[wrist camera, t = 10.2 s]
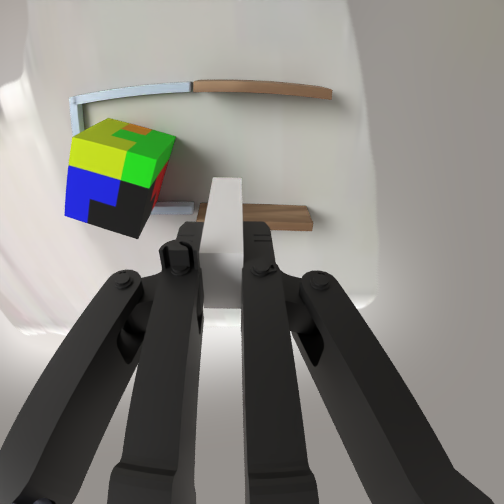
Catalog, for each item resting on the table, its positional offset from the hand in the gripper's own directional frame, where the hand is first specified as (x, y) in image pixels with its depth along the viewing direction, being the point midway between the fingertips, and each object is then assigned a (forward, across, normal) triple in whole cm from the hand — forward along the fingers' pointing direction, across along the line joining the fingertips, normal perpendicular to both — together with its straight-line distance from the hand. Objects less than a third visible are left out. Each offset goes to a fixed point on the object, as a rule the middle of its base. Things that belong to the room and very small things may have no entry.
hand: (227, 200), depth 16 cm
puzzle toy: (+23, -14, -5) cm, 28 cm away
